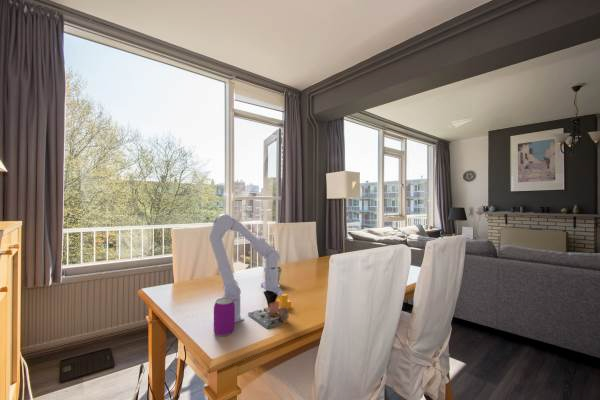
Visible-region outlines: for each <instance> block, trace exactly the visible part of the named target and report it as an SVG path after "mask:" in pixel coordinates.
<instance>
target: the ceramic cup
mask: <svg viewBox="0 0 600 400" xmlns="http://www.w3.org/2000/svg"><path fill="white" fill-rule="evenodd" d="M263 270H264V271H265V267H263ZM281 274H282V267H281V266H278V285H280V284H279V283H280V279H281Z"/></svg>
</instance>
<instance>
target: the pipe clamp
mask: <svg viewBox="0 0 600 400" xmlns="http://www.w3.org/2000/svg"><path fill="white" fill-rule="evenodd" d="M288 297H289V296H288V294H287V293H283V295H281V296H277V298H276V301H277V302H279V309H280V308H284V307H287V308H289V309H292V301H291V300H290V299H289V298H288ZM276 301H275V302H276Z"/></svg>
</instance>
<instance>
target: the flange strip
mask: <svg viewBox="0 0 600 400" xmlns="http://www.w3.org/2000/svg"><path fill="white" fill-rule="evenodd" d="M260 313H264V310H262V309H257V310H253V311H252V310H251V311H250V312H249V311H248V312H247V316H249V317H250V318H252V320H254V321H255V322H257V323H258V324H260V325H261V326H263V327H264V328H265V329H267V330H269V329H272V328H275V327H279V326H281V324H282V323H281V322H280V321H278V320H277V319H276V320H272V321H269V322H268V321H267V320H269V319H272V318H273V317H272V316H270V315H269V314H264V315H260V316H259V315H258V314H260Z"/></svg>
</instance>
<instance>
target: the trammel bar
mask: <svg viewBox="0 0 600 400" xmlns="http://www.w3.org/2000/svg"><path fill="white" fill-rule="evenodd" d="M289 309H290V308H287V307H284V308H280V307H279V312H277V313H274V314H271V313H267V314H269V315H270V316H272V317H273V318H272V319H269V320H267V321H268V322H269V321H272V320H276V319H277V320H278V321H280V322H281V323H280V324H286V323H288V319H289V316H290V315H289V314H290V312H289ZM263 311H264V312H268V311H269V308H268V306H267V307H264V308H263Z"/></svg>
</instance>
